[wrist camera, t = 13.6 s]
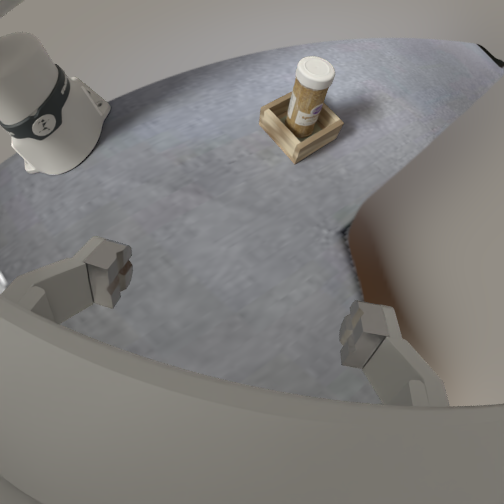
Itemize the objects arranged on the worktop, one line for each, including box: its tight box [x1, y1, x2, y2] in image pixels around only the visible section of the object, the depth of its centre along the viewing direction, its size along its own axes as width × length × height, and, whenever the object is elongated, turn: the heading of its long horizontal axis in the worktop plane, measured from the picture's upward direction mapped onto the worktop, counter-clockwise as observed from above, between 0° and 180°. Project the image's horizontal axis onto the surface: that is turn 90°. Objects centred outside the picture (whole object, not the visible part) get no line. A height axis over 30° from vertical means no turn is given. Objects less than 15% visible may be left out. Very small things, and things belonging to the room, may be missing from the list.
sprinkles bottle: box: [285, 56, 335, 138], centre depth 37 cm, size 5×5×13 cm
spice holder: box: [259, 92, 344, 164], centre depth 42 cm, size 9×9×4 cm
